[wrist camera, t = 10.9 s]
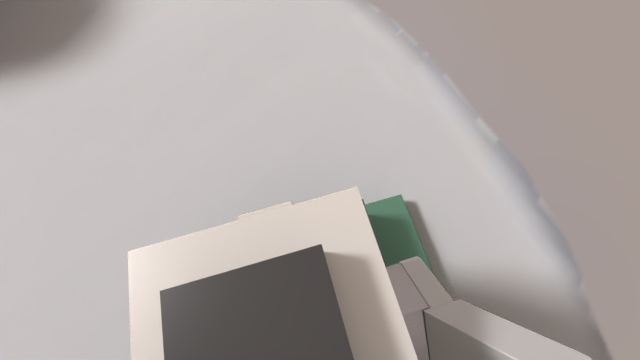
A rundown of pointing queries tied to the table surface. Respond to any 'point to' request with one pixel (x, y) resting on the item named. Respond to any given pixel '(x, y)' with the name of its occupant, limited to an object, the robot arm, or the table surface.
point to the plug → (269, 289)
